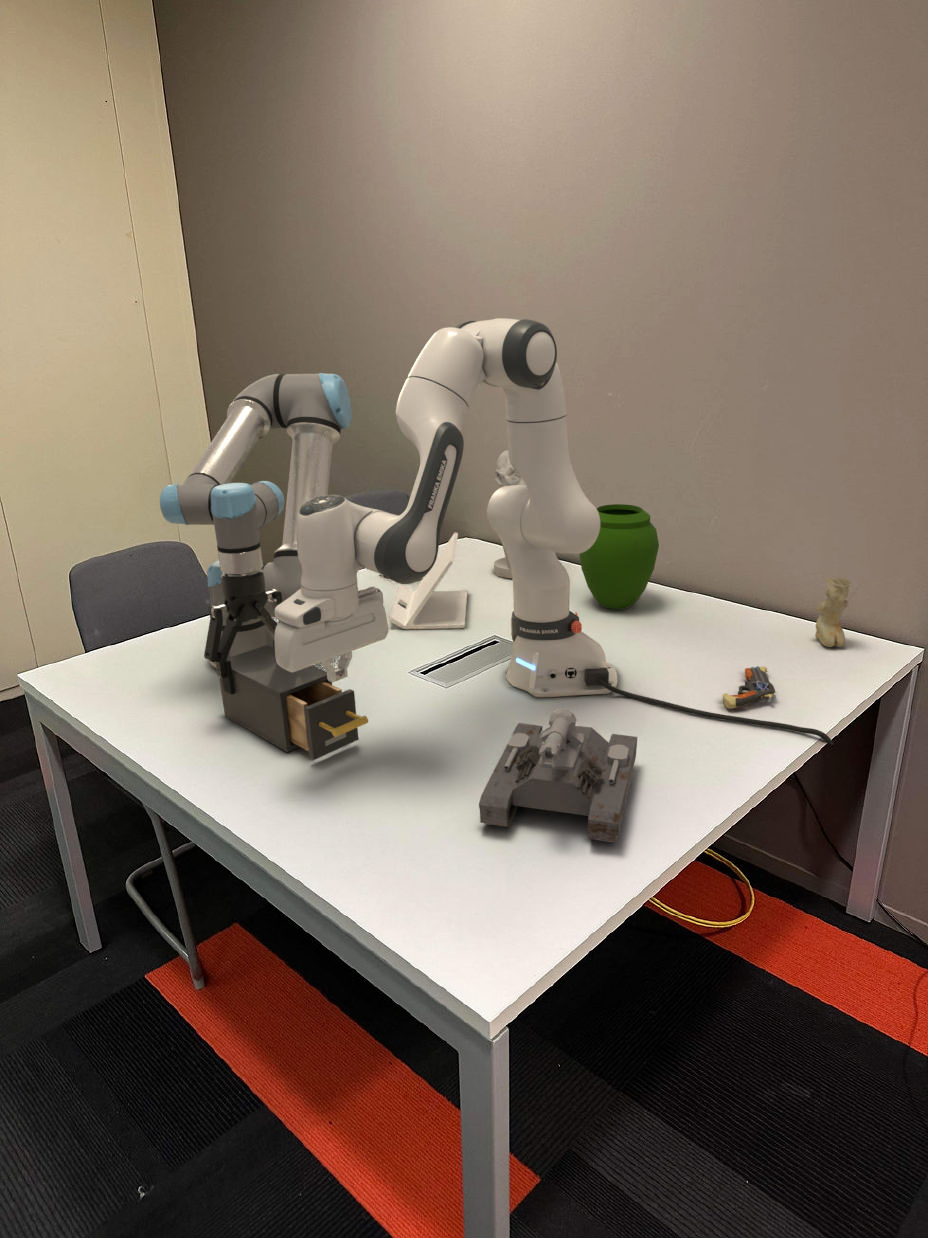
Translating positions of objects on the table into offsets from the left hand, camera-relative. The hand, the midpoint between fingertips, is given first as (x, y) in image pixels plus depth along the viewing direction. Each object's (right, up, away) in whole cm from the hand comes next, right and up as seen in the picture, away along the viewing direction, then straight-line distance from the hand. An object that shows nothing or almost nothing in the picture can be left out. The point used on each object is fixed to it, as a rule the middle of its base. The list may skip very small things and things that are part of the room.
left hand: (256, 682), depth 161 cm
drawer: (+12, -9, -10) cm, 18 cm away
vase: (+77, +15, +53) cm, 95 cm away
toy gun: (+94, -2, +5) cm, 94 cm away
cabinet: (+5, -7, -2) cm, 9 cm away
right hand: (+18, +2, -21) cm, 28 cm away
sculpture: (+119, +7, +26) cm, 122 cm away
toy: (+55, -16, -28) cm, 63 cm away
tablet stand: (+31, +14, +53) cm, 63 cm away
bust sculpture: (+56, +24, +78) cm, 99 cm away
